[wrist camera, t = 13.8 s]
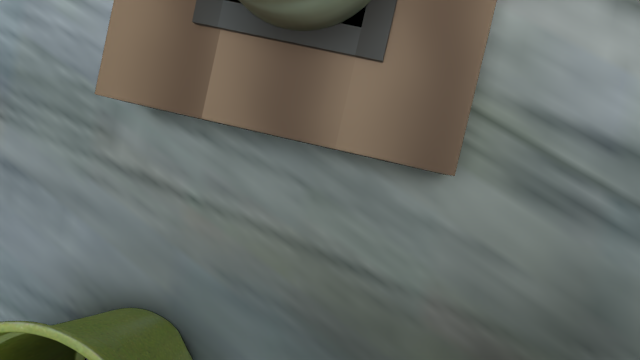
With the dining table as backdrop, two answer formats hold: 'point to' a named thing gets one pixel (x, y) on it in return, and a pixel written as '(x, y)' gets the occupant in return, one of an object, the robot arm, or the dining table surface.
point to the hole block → (308, 73)
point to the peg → (304, 12)
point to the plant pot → (95, 338)
